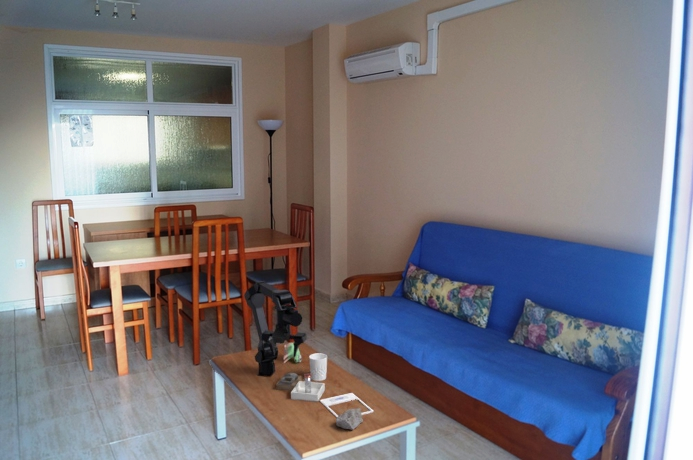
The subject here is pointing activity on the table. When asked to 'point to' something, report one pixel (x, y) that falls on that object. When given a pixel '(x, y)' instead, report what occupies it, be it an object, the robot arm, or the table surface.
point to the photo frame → (342, 399)
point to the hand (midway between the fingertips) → (284, 356)
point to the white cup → (318, 366)
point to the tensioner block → (288, 382)
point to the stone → (349, 419)
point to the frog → (291, 353)
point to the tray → (314, 396)
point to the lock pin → (307, 382)
